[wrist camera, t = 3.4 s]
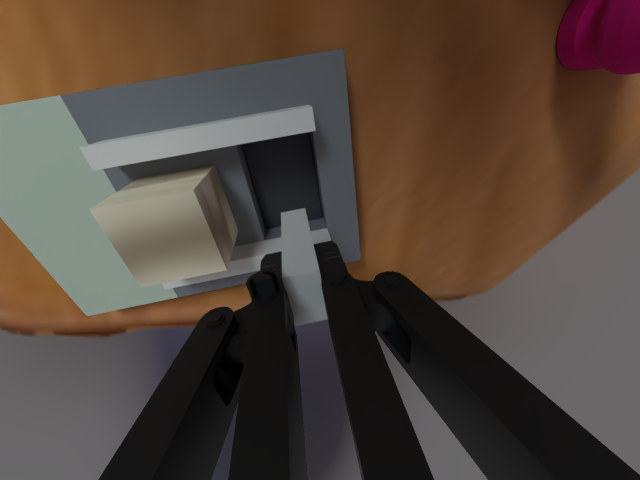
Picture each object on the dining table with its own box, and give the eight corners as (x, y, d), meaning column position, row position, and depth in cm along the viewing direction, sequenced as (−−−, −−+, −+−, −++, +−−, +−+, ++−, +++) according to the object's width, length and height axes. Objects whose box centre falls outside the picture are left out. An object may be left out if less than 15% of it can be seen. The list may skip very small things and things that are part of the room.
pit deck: (-44, 116, 19) (-140, 124, 14) (337, 52, 20) (353, 42, 16) (101, 298, 28) (69, 336, 24) (354, 247, 29) (368, 274, 25)
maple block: (137, 178, 20) (88, 209, 15) (214, 164, 20) (193, 189, 15) (171, 243, 23) (141, 287, 18) (238, 230, 23) (227, 270, 18)
